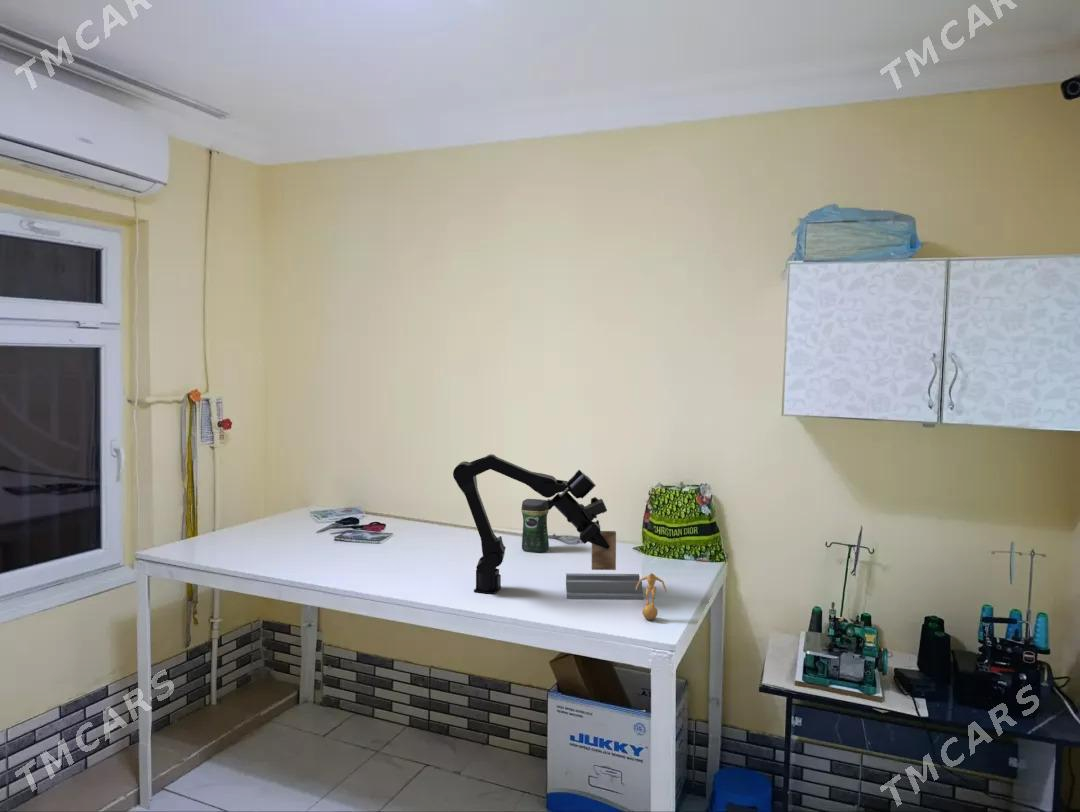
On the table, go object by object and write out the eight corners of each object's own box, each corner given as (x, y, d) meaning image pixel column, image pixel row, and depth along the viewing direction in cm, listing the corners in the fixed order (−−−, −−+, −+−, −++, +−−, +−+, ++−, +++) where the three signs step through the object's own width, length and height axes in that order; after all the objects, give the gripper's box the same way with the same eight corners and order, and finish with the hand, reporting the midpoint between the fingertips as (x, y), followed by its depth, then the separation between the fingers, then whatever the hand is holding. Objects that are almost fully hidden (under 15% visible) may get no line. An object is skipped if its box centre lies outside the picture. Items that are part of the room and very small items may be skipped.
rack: (566, 598, 207) (566, 584, 207) (565, 583, 221) (565, 570, 221) (643, 599, 207) (643, 585, 207) (637, 584, 221) (637, 571, 221)
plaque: (591, 569, 212) (592, 532, 212) (591, 567, 215) (591, 530, 214) (615, 569, 212) (616, 533, 211) (615, 567, 215) (615, 531, 214)
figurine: (633, 620, 190) (633, 575, 189) (636, 612, 196) (637, 569, 195) (664, 623, 188) (665, 578, 187) (667, 615, 193) (668, 571, 193)
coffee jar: (551, 548, 263) (551, 498, 261) (543, 554, 255) (543, 502, 254) (526, 546, 266) (526, 496, 265) (518, 551, 259) (518, 500, 258)
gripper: (592, 496, 203) (631, 535, 203) (589, 485, 221) (624, 520, 222) (564, 523, 204) (602, 562, 204) (563, 510, 222) (599, 545, 223)
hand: (608, 546), depth 213 cm, fingers closed on plaque, 2 cm apart
